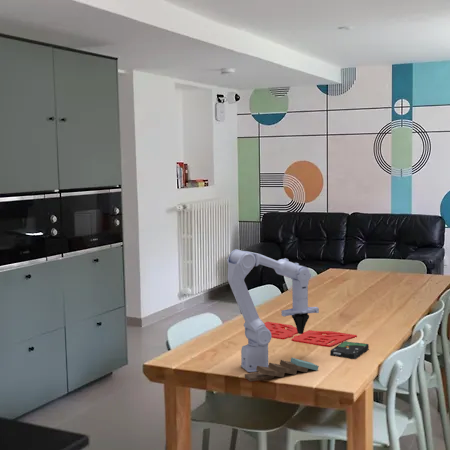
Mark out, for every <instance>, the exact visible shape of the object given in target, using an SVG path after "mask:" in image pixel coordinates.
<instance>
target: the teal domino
mask: <svg viewBox="0 0 450 450" xmlns="http://www.w3.org/2000/svg"><path fill="white" fill-rule="evenodd" d="M289 362H292V363H293V364H295V365H297V366H301V367H305V368H308V370H313V371H319V365H317V364H315V363H313V362H311V361H306V360H302V359H298V358H295V357H291V358H290V361H289Z"/></svg>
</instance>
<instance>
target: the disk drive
mask: <svg viewBox="0 0 450 450" xmlns="http://www.w3.org/2000/svg"><path fill="white" fill-rule="evenodd" d="M369 347H370V345H369V343H362V342H352V341H348V340H346V341H344V342H342V343H340V344H337V345H335V346H334V347H332V348H331V349H330V350H329V353H330V357H331V356H332V357H337V358H343V359H351V360H356V359H358V358H359V357H361V356H362V355H363V354H365V353H366V352H367V351H369Z"/></svg>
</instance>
